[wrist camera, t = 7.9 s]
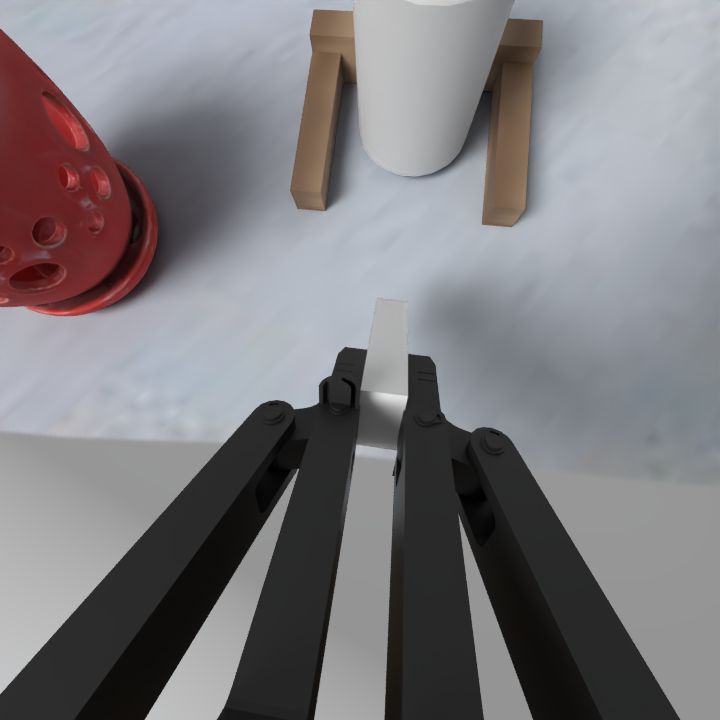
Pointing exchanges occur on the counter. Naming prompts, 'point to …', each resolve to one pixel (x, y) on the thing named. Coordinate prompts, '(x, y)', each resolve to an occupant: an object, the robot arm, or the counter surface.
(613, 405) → the counter surface
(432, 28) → the can
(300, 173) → the walnut frame
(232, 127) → the counter surface
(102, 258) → the plant pot
